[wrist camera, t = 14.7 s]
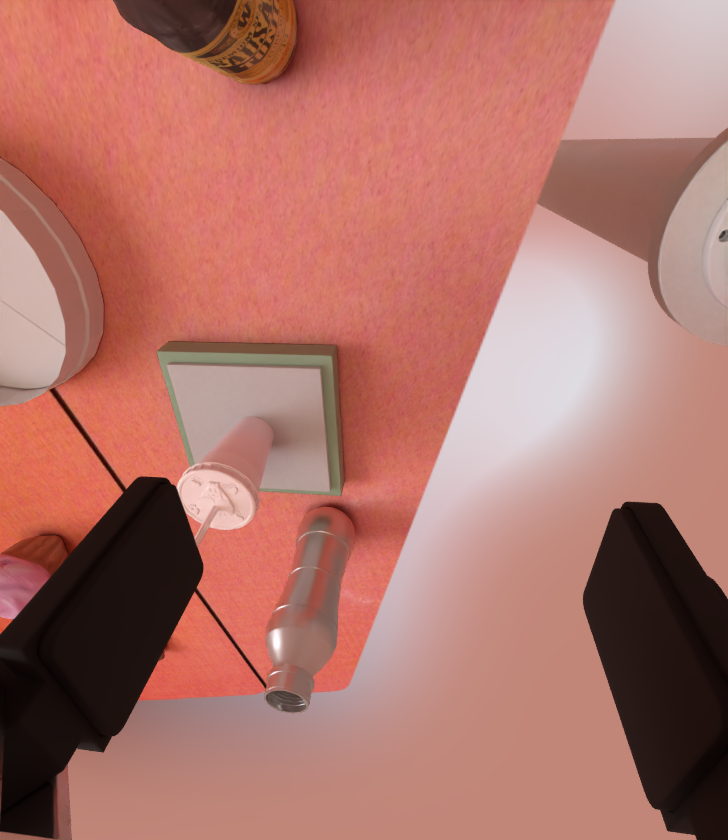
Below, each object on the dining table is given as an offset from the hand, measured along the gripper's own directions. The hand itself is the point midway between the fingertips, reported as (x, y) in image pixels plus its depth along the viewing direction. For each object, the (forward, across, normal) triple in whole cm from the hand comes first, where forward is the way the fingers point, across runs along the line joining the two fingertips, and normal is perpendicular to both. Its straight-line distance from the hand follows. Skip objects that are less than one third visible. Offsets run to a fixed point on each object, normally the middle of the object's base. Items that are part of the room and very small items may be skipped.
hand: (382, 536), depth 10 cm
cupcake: (+29, +48, +37) cm, 68 cm away
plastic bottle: (+30, +9, +30) cm, 43 cm away
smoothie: (+27, +15, +16) cm, 34 cm away
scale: (+30, +15, +16) cm, 37 cm away
